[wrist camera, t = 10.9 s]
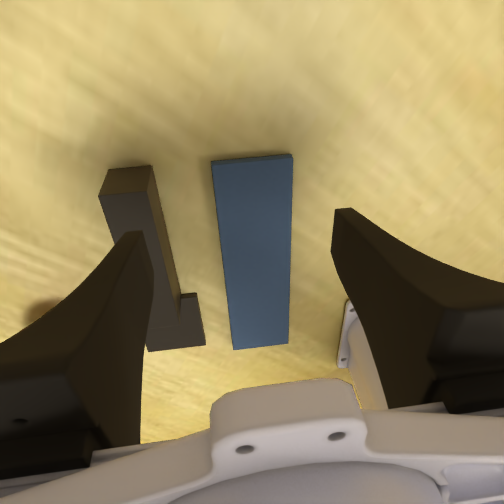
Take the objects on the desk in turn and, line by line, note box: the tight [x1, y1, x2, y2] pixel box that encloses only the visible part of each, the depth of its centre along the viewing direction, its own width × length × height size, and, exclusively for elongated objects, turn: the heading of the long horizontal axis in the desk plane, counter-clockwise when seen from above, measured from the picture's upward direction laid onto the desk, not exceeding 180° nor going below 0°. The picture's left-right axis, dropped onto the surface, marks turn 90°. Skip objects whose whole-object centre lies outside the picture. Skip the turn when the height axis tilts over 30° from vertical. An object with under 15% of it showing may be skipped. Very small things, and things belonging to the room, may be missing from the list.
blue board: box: [211, 154, 293, 350], centre depth 29 cm, size 18×5×1 cm, turn 3°
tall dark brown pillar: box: [98, 166, 206, 352], centre depth 27 cm, size 17×5×3 cm, turn 2°
